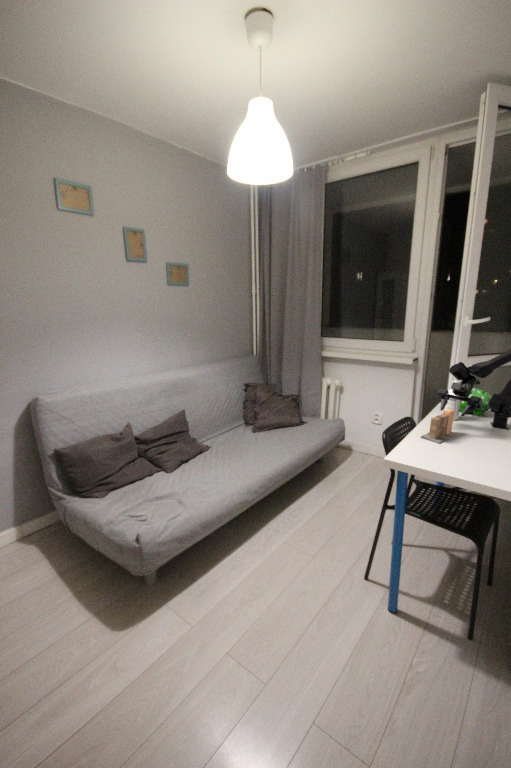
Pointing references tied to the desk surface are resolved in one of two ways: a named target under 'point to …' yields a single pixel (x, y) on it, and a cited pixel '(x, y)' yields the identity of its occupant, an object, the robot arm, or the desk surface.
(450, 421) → the block
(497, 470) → the desk surface
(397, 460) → the desk surface
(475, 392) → the piggy bank
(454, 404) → the bath foam
